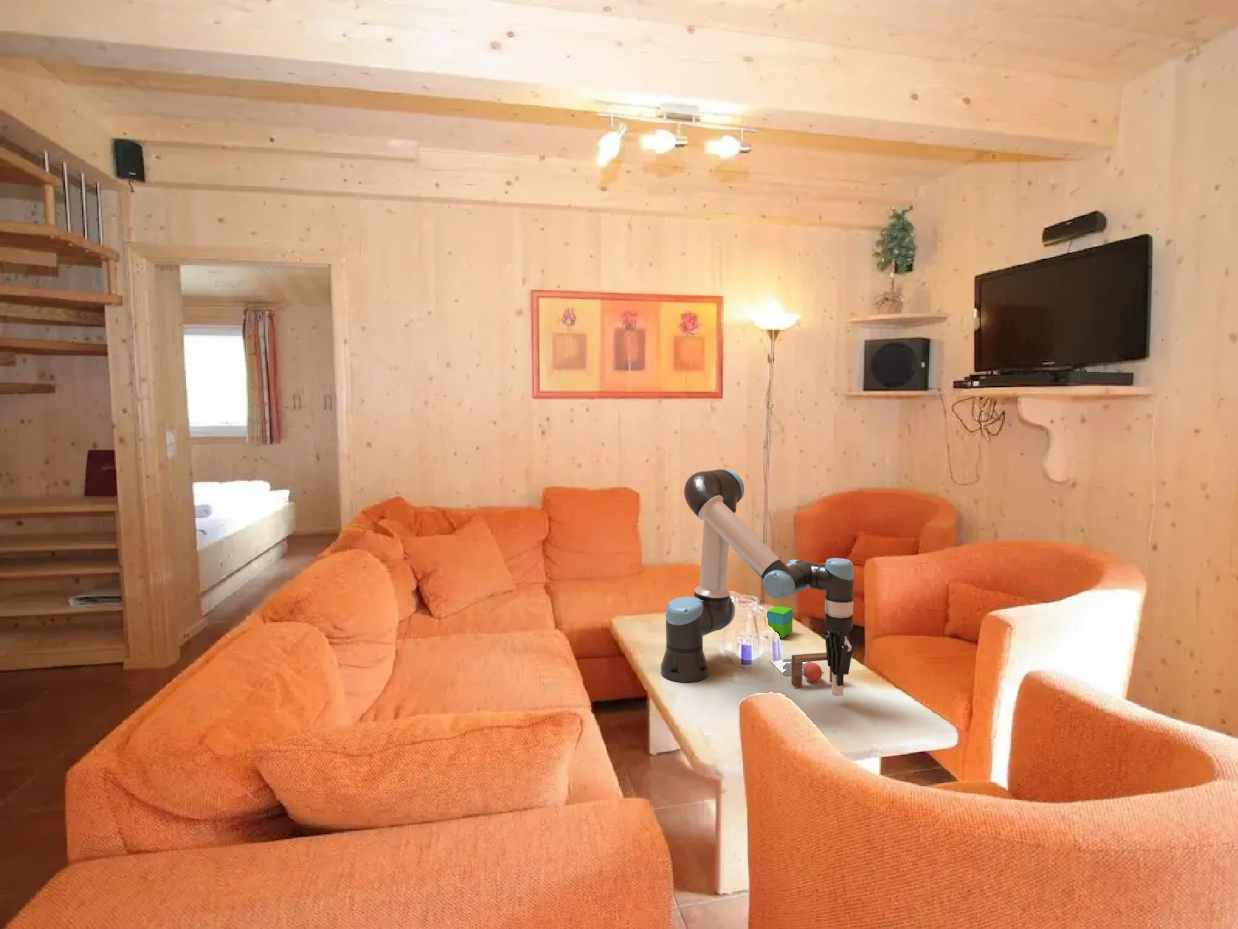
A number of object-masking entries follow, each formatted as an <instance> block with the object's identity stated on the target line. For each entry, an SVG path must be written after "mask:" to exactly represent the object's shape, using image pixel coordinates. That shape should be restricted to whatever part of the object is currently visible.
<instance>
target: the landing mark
mask: <svg viewBox="0 0 1238 929" xmlns="http://www.w3.org/2000/svg"><path fill="white" fill-rule="evenodd" d="M783 662H791V663H789V664H788V663H786V664H785V665H784V666H783V669H786V670H785V671H784V672H783V674H782V675H783V676H784V675H785V676H784V677H792V658H785V659H784V660H783ZM809 663H812V661H810V662H807V663H805V664H803V663H802V669H803V670H802V676H805V675H804V667H805V666H806V665H807V664H809ZM822 674H825V673H824V671H822Z"/></svg>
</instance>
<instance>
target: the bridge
mask: <svg viewBox="0 0 1238 929" xmlns="http://www.w3.org/2000/svg"><path fill="white" fill-rule="evenodd" d="M791 659H792V676H791V679H790V680H791V682H790V683H791V684H790V685H791V686H792V687H793V688H795V689H802V688H803V675H802V662H821V661H823V662H824V661H827V652H816V653H812V652H811V653H805V654H804V653H803V654H802V653H801V654H791ZM829 682H830V684H832V671H831V667H829Z"/></svg>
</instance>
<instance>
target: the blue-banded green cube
mask: <svg viewBox="0 0 1238 929" xmlns="http://www.w3.org/2000/svg"><path fill="white" fill-rule="evenodd" d="M793 612H794V611H793V608H791V607H785V606H780V605H775V607H772V608H771V609H769V610H767V611H766V614H767V618H768V625H769V626H770V627H772V628H773V630H774V631H775V632H777V633H778V634H779V636H780V639H781V638H782V639H783V638H784V637H786V636H788V635H790V634H791V633H792V632H793Z"/></svg>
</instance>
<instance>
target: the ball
mask: <svg viewBox="0 0 1238 929" xmlns="http://www.w3.org/2000/svg"><path fill="white" fill-rule="evenodd" d="M822 672H823V670H822V667H821V666H820V665H819V664H818V663H814V662H811V663H809V664H807V665H806V666H805V667H804V675H803V676H804V678H806V679H807V680H808V681H810V682H818V681H819V680H820V679H821V678H822V676H823V673H822Z"/></svg>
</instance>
